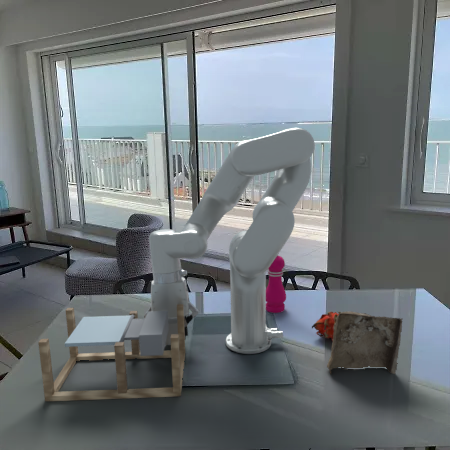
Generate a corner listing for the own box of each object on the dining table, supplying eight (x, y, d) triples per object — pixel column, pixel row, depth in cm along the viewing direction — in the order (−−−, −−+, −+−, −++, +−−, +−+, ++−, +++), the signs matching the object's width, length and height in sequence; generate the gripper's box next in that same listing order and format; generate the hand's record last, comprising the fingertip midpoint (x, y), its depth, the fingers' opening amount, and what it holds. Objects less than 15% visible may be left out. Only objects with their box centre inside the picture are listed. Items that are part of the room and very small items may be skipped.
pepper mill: (271, 303, 143) (271, 247, 139) (289, 308, 139) (290, 250, 135) (260, 310, 137) (260, 252, 133) (279, 315, 133) (280, 255, 129)
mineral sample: (328, 375, 99) (330, 315, 96) (325, 366, 103) (327, 309, 100) (400, 375, 98) (404, 315, 95) (394, 366, 102) (398, 308, 99)
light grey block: (183, 335, 117) (181, 315, 116) (182, 343, 112) (180, 322, 111) (166, 336, 117) (163, 316, 116) (164, 345, 112) (161, 324, 111)
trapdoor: (168, 327, 106) (167, 309, 105) (162, 357, 92) (161, 336, 91) (85, 330, 106) (83, 312, 105) (65, 360, 91) (63, 339, 90)
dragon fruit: (358, 346, 116) (314, 349, 118) (352, 319, 122) (311, 323, 124) (358, 331, 110) (312, 335, 112) (352, 303, 115) (309, 308, 118)
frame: (185, 354, 110) (183, 304, 107) (180, 396, 92) (178, 337, 89) (72, 358, 109) (67, 307, 106) (45, 401, 91) (38, 342, 88)
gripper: (199, 269, 115) (205, 330, 118) (137, 274, 114) (145, 335, 118) (199, 278, 107) (204, 343, 111) (132, 283, 107) (140, 348, 110)
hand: (174, 338), depth 114 cm, fingers closed on light grey block, 5 cm apart
